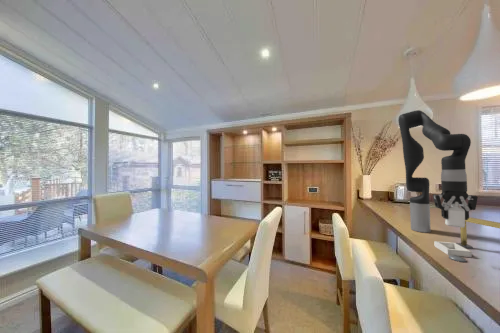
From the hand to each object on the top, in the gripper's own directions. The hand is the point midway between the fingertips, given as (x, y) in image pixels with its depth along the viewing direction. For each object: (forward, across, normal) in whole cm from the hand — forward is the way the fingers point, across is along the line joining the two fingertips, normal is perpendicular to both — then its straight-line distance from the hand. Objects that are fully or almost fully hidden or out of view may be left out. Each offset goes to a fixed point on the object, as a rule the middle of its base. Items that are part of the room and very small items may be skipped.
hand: (455, 218), depth 80 cm
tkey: (+16, +15, +12) cm, 25 cm away
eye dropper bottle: (+3, 0, 0) cm, 3 cm away
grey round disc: (+17, 0, 0) cm, 17 cm away
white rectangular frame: (+17, +3, +9) cm, 20 cm away
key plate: (+17, +12, +17) cm, 27 cm away
